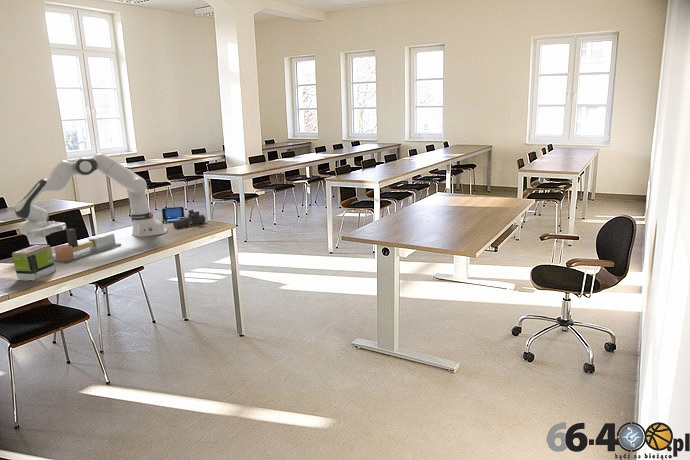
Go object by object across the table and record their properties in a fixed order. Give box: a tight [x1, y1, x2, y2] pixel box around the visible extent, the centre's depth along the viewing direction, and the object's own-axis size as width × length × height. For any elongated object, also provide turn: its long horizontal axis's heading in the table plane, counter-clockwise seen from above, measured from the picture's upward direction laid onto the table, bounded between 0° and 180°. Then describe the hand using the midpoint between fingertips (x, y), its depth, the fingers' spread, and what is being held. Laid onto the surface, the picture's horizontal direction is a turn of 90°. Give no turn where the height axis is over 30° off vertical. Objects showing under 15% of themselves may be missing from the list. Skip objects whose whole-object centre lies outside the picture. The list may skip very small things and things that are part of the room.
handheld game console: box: [161, 206, 185, 224], centre depth 387 cm, size 16×13×9 cm
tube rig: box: [53, 232, 122, 264], centre depth 308 cm, size 38×12×8 cm, turn 155°
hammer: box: [65, 228, 95, 253], centre depth 303 cm, size 25×4×13 cm, turn 155°
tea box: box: [11, 244, 57, 282], centre depth 268 cm, size 15×10×15 cm, turn 163°
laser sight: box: [172, 209, 206, 229], centre depth 369 cm, size 10×22×10 cm, turn 131°
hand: (57, 230), depth 303 cm, fingers open, 8 cm apart
